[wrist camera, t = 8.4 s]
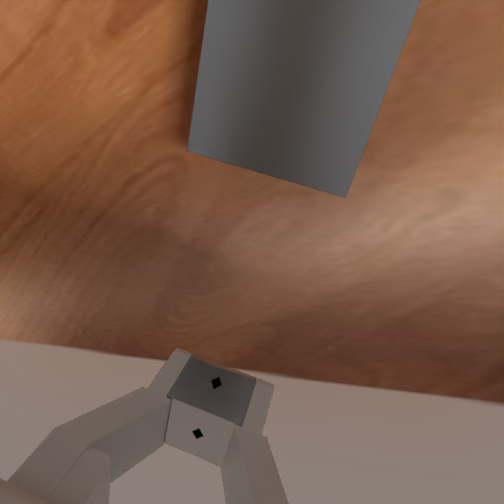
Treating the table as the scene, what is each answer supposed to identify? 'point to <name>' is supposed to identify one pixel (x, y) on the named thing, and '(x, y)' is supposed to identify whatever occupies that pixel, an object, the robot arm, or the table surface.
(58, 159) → the table surface
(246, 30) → the charcoal block
